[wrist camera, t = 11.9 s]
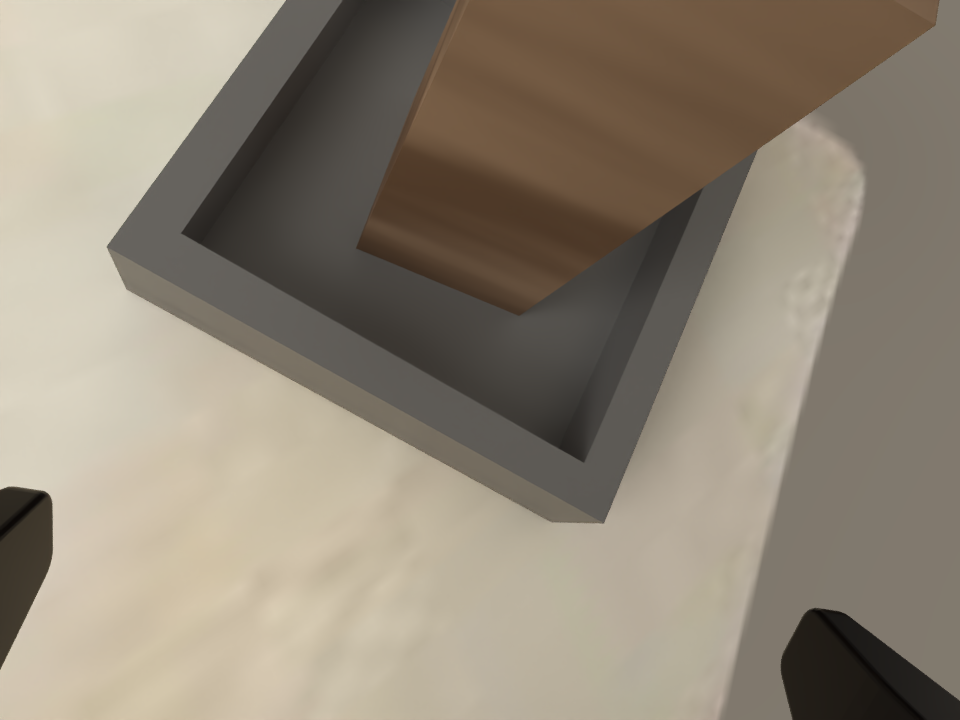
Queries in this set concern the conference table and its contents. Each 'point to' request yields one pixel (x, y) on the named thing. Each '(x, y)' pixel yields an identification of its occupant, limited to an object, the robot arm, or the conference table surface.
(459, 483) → the conference table surface
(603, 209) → the block
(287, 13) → the tray
